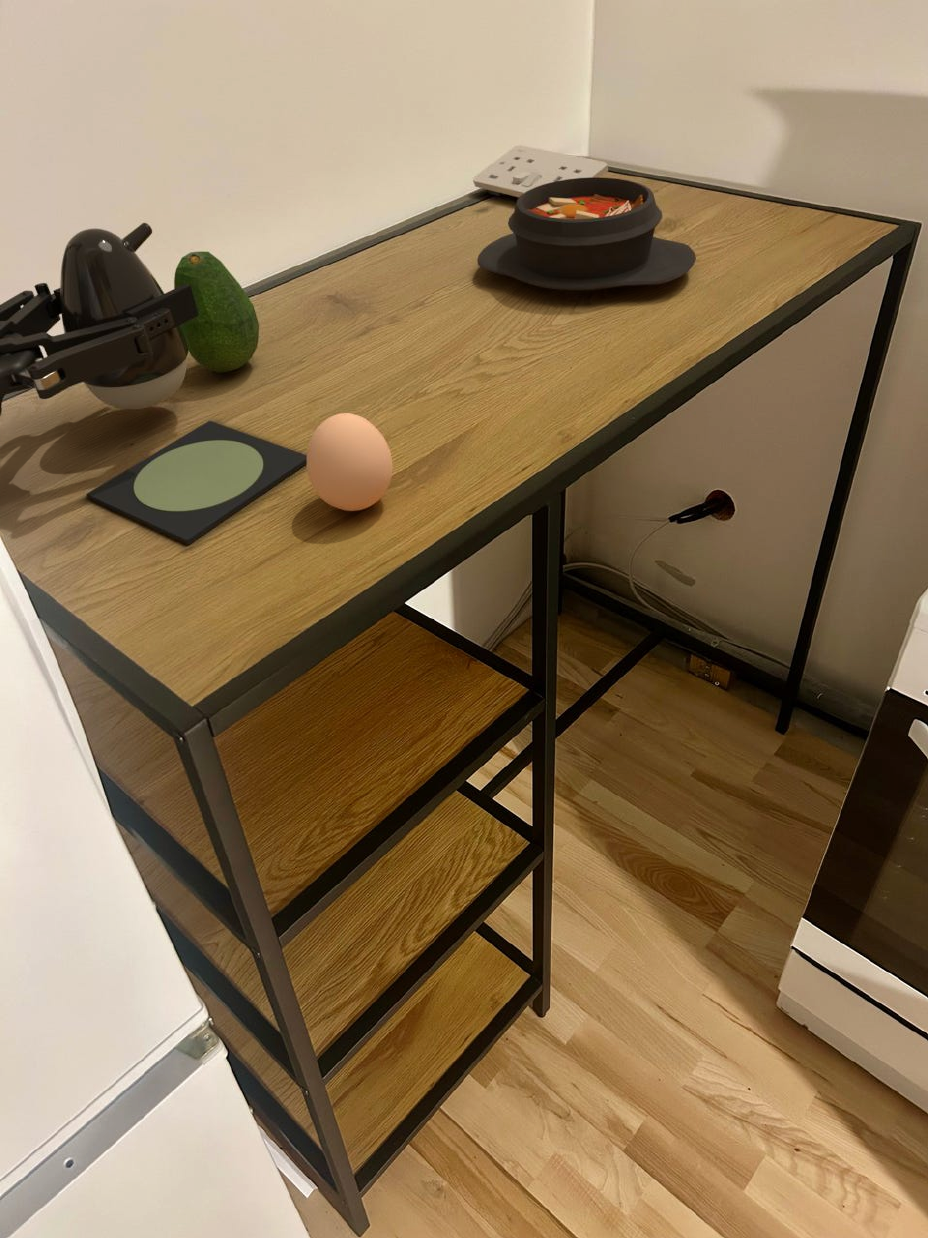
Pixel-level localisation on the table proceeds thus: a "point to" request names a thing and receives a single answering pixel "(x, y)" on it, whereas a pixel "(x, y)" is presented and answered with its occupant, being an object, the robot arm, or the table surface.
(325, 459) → the egg
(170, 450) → the placemat
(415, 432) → the table surface
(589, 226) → the casserole
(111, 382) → the pump dispenser
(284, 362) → the table surface
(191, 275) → the avocado
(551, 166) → the wall socket
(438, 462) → the table surface
